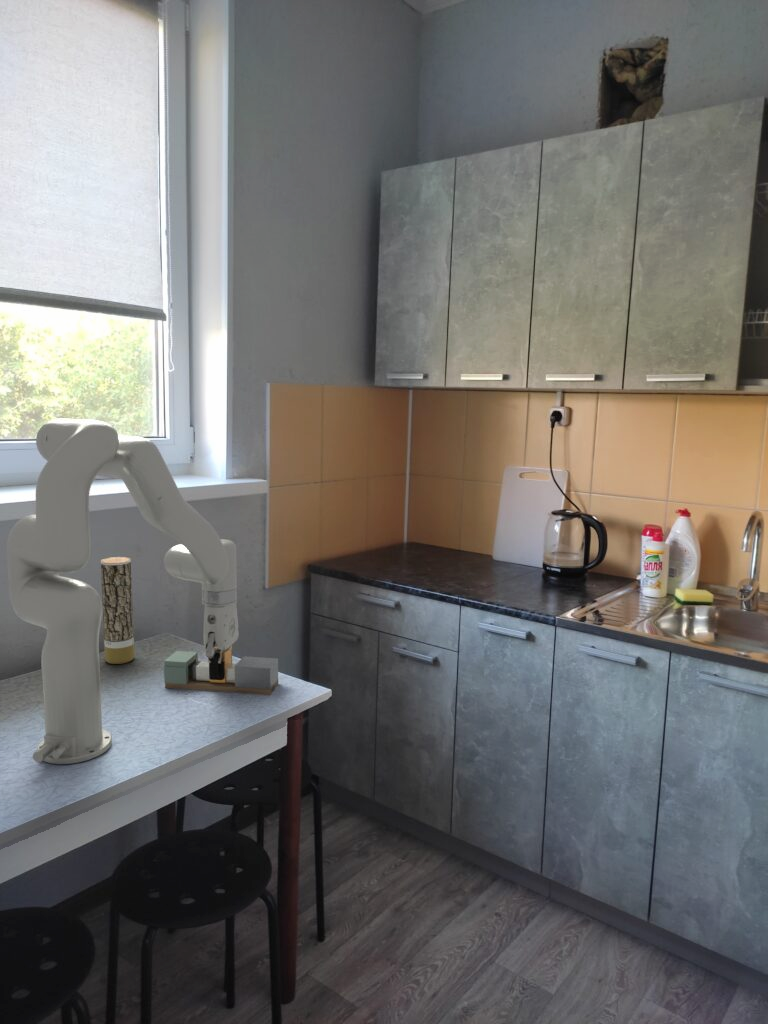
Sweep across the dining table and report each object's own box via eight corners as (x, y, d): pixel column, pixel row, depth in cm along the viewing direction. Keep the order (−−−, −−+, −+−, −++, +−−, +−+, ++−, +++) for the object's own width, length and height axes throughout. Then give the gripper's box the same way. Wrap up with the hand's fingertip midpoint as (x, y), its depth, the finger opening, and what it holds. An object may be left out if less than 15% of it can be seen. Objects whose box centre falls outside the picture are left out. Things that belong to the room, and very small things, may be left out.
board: (270, 695, 159) (270, 689, 159) (165, 687, 163) (164, 682, 162) (278, 683, 166) (278, 678, 166) (177, 676, 169) (177, 671, 169)
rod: (258, 685, 161) (258, 655, 160) (191, 681, 163) (190, 650, 162) (264, 678, 165) (264, 648, 164) (199, 673, 167) (198, 644, 166)
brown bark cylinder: (115, 667, 174) (111, 564, 170) (99, 660, 178) (94, 560, 174) (140, 659, 180) (136, 559, 176) (124, 653, 184) (120, 555, 180)
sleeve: (270, 689, 159) (270, 668, 159) (234, 687, 160) (234, 666, 160) (278, 678, 166) (278, 658, 165) (243, 676, 167) (243, 656, 166)
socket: (186, 684, 161) (185, 662, 161) (164, 682, 162) (163, 661, 161) (198, 672, 168) (197, 651, 168) (177, 671, 169) (176, 650, 168)
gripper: (222, 607, 152) (223, 690, 155) (248, 587, 169) (249, 663, 172) (187, 605, 153) (189, 688, 156) (216, 585, 170) (218, 660, 173)
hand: (220, 674), depth 164 cm, fingers closed on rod, 4 cm apart
